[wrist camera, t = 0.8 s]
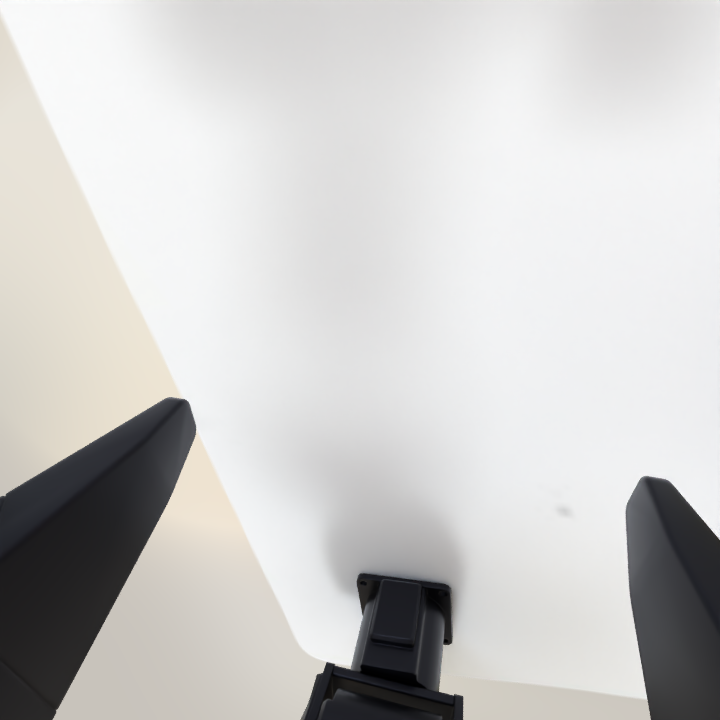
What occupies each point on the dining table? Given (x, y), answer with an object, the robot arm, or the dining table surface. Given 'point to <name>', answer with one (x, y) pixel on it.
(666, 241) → the dining table surface
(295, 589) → the dining table surface
